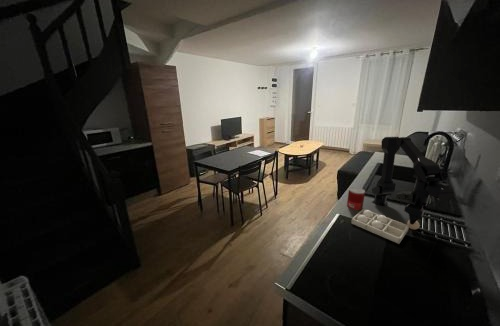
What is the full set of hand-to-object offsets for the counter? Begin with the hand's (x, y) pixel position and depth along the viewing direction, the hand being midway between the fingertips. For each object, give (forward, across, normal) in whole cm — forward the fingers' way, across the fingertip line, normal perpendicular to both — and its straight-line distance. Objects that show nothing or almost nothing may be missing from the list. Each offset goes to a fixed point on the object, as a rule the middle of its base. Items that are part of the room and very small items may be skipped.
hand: (414, 220), depth 96 cm
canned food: (+5, 0, -27) cm, 27 cm away
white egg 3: (+4, +14, -11) cm, 18 cm away
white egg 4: (+4, +7, -11) cm, 14 cm away
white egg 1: (+4, +14, -18) cm, 23 cm away
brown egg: (+5, 0, 0) cm, 5 cm away
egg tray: (+5, +11, -11) cm, 16 cm away
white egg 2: (+4, +7, -18) cm, 19 cm away
